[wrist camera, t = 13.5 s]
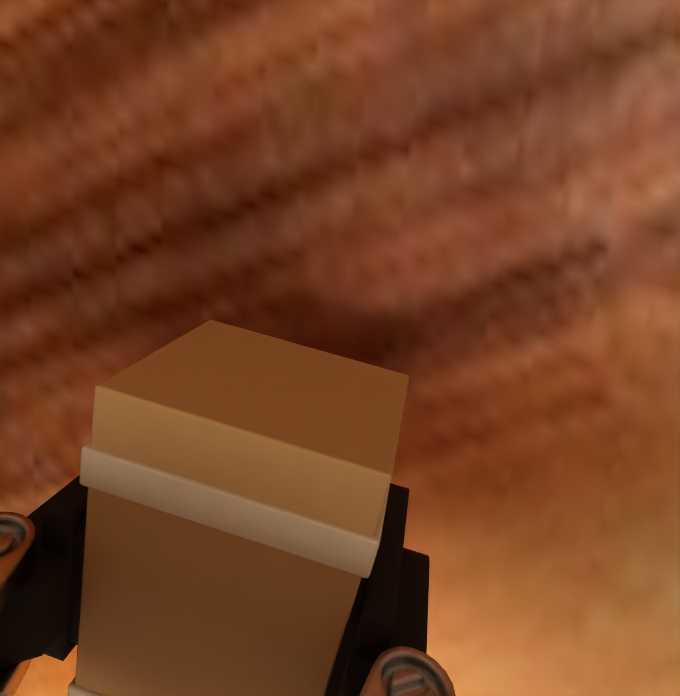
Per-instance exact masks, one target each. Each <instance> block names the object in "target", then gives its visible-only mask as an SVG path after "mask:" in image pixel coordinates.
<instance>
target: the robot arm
mask: <svg viewBox="0 0 680 696" xmlns="http://www.w3.org/2000/svg"><path fill="white" fill-rule="evenodd" d="M408 497H409V489H408V488H405V487H402V486H398V485H395V484H392V483H390V487H389V492H388V498H387V504H386V510H385V515H384V521H383V527H382V533H381V539H380V544H379V547H378V550H377V554H376V557H375V560H374V563H373V566H372V570H371V573H370V576H369V577H368V578H363V577H361V581H360V584H359V587H358V590H357V594H356V597H355V600H354V603H353V607H352V610H351V613H350V617H349V620H348V622H347V624H346V627H345V630H344V634H343V637H342V640H341V644H340V647H339V650H338V653H337V657H336V660H335V663H334V666H333V670H332V673H331V676H330V680H329V683H328V686H327V689H326V693H325V696H456V695H455V691H454V687H453V684H452V682H451V680H450V678H449V676H448V675H447V673H446V671H445V670H444V669H443V668H442V667H441V666H440V665H439V663H438V662H437V661H436V660H434V659H433V658H432V657H430V656H429V655H427V654H426V651H427V621H428V591H429V556H428V555H425V554H422V553H418V552H415V551H412V550H409V549H406V548H403V544H404V534H405V525H406V516H407V507H408ZM87 498H88V487H86V486H83V485H81V484H80V475H79V476H78V477H77V478H75V479H74V480H73V481H72V482H70V483H69V484H68V485H67V486H65V487H64V488H63V489H61V490H60V491H59V492H58V493H56V494H55V495H54V496H53V497H51V498H50V499H49V500H48V501H46V502H45V503H44V504H43V505H41V506H40V507H39V508H38V509H36V510H35V511H34V512H33V513H31V514H30V515H29V516H28V517H25V516H24V515H21V514H17V513H13V512H0V696H13V694H14V693H15V691H16V689H17V687H18V686H19V684H20V682H21V680H22V678H23V677H24V675H25V673H26V671H27V669H28V668H29V665H30V662H31V660H32V659H33V658H36V657H39V656H42V655H43V654H46V655H49V656H51V657H54V658H57V659H59V660H62V661H63V660H64V659H65V658H66V657H67V655H68V654H69V653H70V652H71V650H72V649H73V648H74V647H75V645H78V633H79V618H80V603H81V588H82V573H83V558H84V543H85V528H86V513H87Z"/></svg>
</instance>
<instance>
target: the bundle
mask: <svg viewBox="0 0 680 696" xmlns="http://www.w3.org/2000/svg"><path fill="white" fill-rule="evenodd" d="M408 381H409V376H408V375H406V374H402V373H398V372H395V371H391V370H388V369H384V368H381V367H377V366H374V365H370V364H367V363H363V362H360V361H356V360H352V359H349V358H345V357H342V356H338V355H335V354H331V353H328V352H324V351H321V350H317V349H313V348H310V347H306V346H303V345H299V344H296V343H292V342H289V341H285V340H282V339H278V338H275V337H271V336H267V335H264V334H260V333H257V332H253V331H250V330H246V329H243V328H239V327H236V326H232V325H228V324H225V323H221V322H218V321H214V320H209V321H207V322H205V323H204V324H202V325H200V326H198V327H197V328H195V329H193V330H191V331H190V332H188V333H186V334H184V335H183V336H181V337H179V338H177V339H176V340H174V341H172V342H170V343H169V344H167V345H165V346H164V347H162V348H160V349H158V350H157V351H155V352H153V353H151V354H150V355H148V356H146V357H144V358H143V359H141V360H139V361H137V362H136V363H134V364H132V365H130V366H129V367H127V368H125V369H123V370H122V371H120V372H118V373H117V374H115V375H113V376H111V377H110V378H108V379H106V380H104V381H103V382H101V383H99V384H97V385H96V387H95V392H94V407H93V423H92V438H91V441H90V442H89V443H87V444H86V445H85V446H83V448H82V450H81V465H80V484H81V485H83V486H86V487H88V498H87V513H86V528H85V543H84V558H83V573H82V588H81V603H80V618H79V633H78V648H77V663H76V676H75V678H74V679H73V680H72V682H71V683H70V684H69V687H68V696H325V693H326V689H327V686H328V683H329V680H330V676H331V673H332V670H333V666H334V663H335V660H336V657H337V653H338V650H339V647H340V644H341V640H342V637H343V634H344V630H345V627H346V624H347V622H348V620H349V617H350V613H351V610H352V607H353V603H354V600H355V597H356V594H357V590H358V587H359V584H360V581H361V577H363V578H368V577H369V576H370V573H371V570H372V566H373V563H374V560H375V557H376V554H377V550H378V547H379V544H380V539H381V533H382V527H383V521H384V515H385V510H386V504H387V498H388V492H389V487H390V483H391V479H392V475H393V469H394V463H395V457H396V451H397V445H398V440H399V434H400V428H401V422H402V416H403V410H404V404H405V398H406V392H407V387H408Z"/></svg>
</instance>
